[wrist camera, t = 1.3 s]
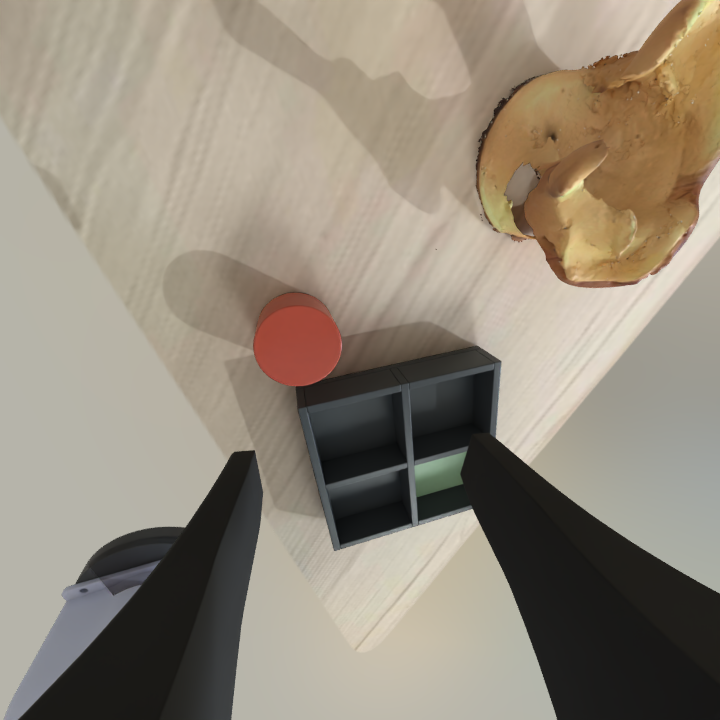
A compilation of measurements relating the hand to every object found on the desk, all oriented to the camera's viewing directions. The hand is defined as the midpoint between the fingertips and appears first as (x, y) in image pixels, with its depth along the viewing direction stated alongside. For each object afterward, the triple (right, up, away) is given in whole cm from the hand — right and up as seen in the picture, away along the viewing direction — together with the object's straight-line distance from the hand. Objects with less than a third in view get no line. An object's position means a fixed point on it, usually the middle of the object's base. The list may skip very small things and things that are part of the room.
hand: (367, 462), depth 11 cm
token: (-4, +5, +8) cm, 10 cm away
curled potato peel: (+10, +15, +7) cm, 19 cm away
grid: (+3, -3, +13) cm, 14 cm away
